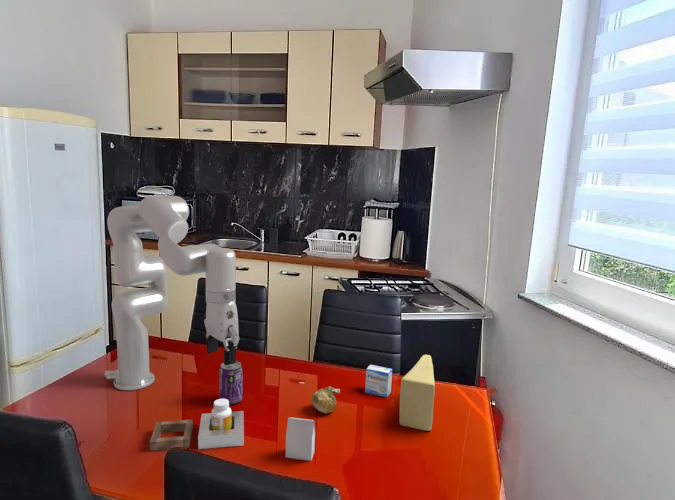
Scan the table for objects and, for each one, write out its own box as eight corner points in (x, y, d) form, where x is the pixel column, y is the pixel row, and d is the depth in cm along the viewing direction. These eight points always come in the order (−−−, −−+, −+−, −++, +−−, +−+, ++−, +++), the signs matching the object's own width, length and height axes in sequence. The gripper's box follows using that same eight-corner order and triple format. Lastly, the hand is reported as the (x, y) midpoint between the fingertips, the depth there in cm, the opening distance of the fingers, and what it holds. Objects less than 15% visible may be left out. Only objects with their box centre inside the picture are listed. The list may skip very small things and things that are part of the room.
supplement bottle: (231, 428, 130) (231, 396, 128) (231, 439, 124) (231, 406, 123) (212, 429, 129) (211, 397, 127) (210, 441, 123) (210, 407, 122)
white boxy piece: (311, 461, 117) (312, 424, 115) (285, 457, 118) (286, 421, 116) (314, 452, 120) (315, 417, 119) (289, 448, 121) (290, 413, 120)
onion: (321, 401, 147) (321, 378, 145) (341, 410, 142) (342, 385, 141) (305, 411, 140) (306, 386, 139) (326, 420, 136) (327, 395, 135)
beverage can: (236, 407, 141) (236, 370, 139) (215, 404, 142) (215, 368, 140) (246, 396, 148) (246, 361, 146) (225, 394, 149) (225, 359, 147)
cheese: (410, 392, 155) (413, 350, 153) (440, 398, 152) (443, 355, 150) (397, 425, 135) (400, 377, 132) (431, 432, 132) (434, 383, 129)
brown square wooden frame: (150, 451, 118) (149, 442, 118) (156, 430, 127) (156, 422, 127) (189, 447, 120) (188, 439, 120) (192, 427, 129) (192, 419, 129)
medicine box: (364, 393, 153) (365, 368, 152) (368, 387, 158) (370, 363, 156) (387, 398, 151) (388, 373, 149) (391, 392, 155) (392, 368, 153)
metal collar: (198, 449, 120) (198, 436, 119) (201, 425, 131) (201, 413, 130) (243, 445, 122) (243, 433, 121) (243, 422, 133) (243, 410, 133)
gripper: (250, 301, 116) (250, 365, 119) (218, 286, 129) (218, 344, 132) (223, 306, 111) (223, 372, 114) (192, 290, 124) (193, 350, 127)
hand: (221, 357), depth 123 cm, fingers open, 9 cm apart
